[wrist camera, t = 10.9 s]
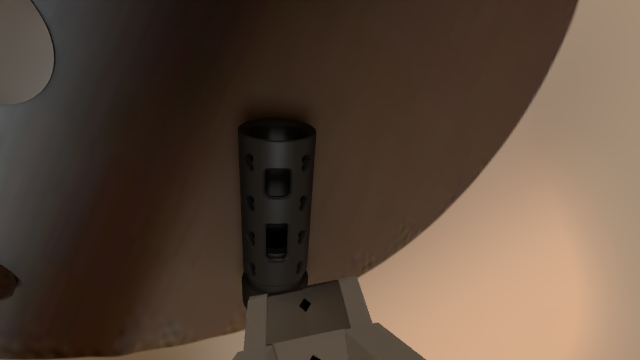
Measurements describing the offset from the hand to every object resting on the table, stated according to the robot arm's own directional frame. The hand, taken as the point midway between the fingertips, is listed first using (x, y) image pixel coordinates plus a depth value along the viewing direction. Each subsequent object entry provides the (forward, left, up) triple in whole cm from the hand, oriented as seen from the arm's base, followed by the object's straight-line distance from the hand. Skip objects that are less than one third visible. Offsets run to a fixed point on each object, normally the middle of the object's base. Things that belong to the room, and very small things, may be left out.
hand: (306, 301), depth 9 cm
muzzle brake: (+10, -15, -36) cm, 40 cm away
